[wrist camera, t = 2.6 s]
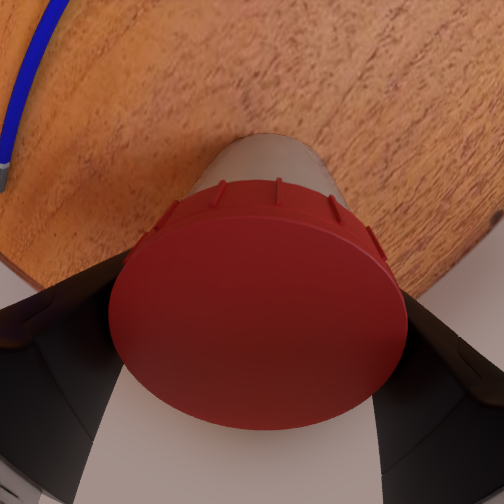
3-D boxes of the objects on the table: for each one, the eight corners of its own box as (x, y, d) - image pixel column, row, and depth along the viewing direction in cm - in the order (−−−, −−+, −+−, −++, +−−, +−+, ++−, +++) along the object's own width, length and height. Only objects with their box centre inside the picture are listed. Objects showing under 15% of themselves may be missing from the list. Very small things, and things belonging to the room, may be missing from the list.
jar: (346, 145, 13) (436, 241, 5) (319, 264, 16) (344, 418, 8) (206, 126, 13) (108, 196, 5) (199, 248, 16) (142, 394, 8)
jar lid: (422, 202, 6) (461, 243, 5) (343, 387, 10) (350, 436, 8) (128, 161, 6) (83, 191, 5) (149, 363, 10) (131, 410, 8)
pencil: (7, 191, 14) (-3, 198, 14) (-2, 185, 14) (-12, 191, 13) (133, -86, 7) (125, -94, 6) (120, -88, 7) (111, -95, 6)
